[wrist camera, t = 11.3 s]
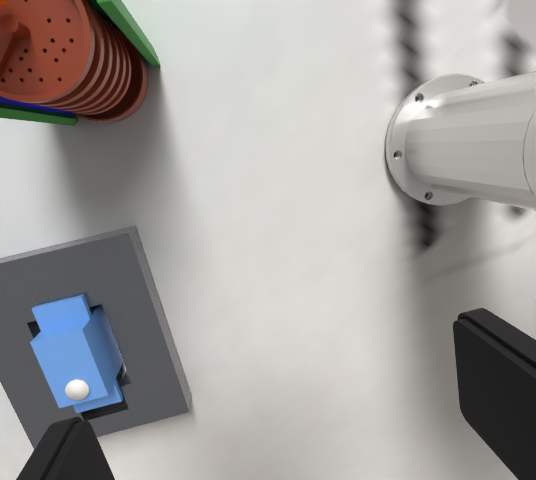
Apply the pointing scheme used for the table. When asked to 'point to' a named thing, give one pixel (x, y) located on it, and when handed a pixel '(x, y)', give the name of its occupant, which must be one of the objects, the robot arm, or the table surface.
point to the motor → (71, 61)
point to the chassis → (121, 322)
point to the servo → (77, 353)
